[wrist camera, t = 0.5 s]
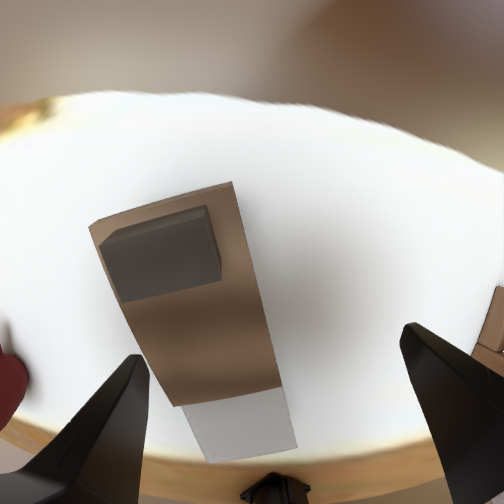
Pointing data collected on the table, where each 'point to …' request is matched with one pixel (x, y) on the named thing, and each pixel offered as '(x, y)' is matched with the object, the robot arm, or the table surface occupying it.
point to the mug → (11, 386)
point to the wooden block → (492, 336)
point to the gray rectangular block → (242, 426)
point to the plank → (190, 294)
